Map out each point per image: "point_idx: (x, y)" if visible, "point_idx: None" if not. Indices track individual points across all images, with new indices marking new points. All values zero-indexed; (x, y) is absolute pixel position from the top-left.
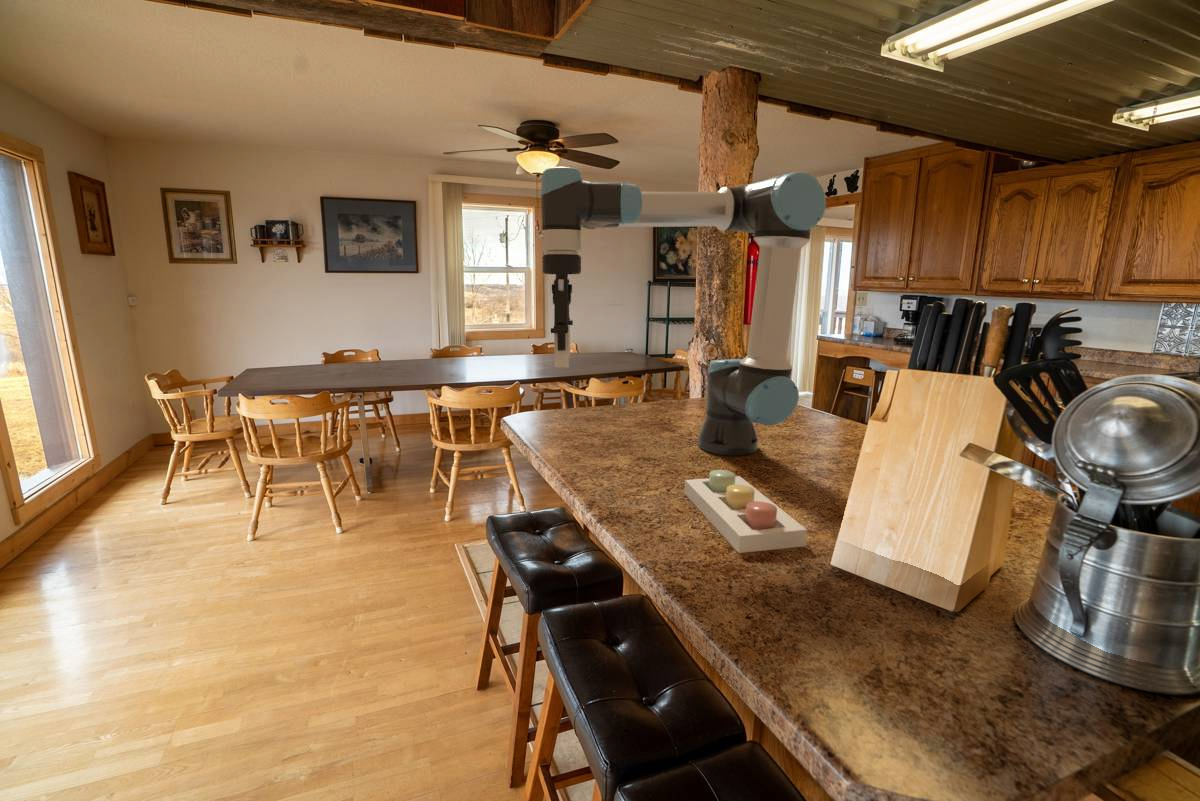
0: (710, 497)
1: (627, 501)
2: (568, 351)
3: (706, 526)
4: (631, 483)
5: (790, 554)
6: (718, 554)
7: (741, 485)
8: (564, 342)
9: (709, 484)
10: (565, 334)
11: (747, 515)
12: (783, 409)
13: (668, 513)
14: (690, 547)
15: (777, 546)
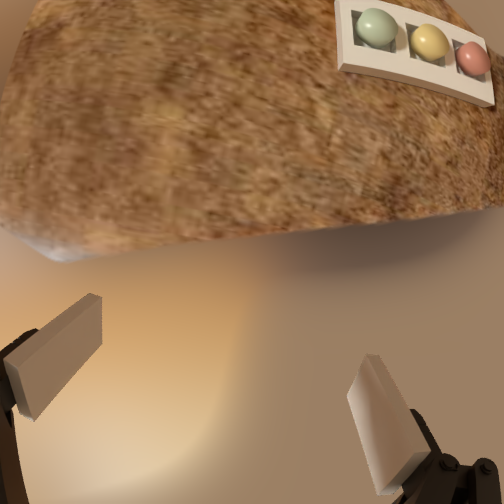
0: (410, 66)
1: (348, 161)
2: (400, 393)
3: (434, 99)
4: (278, 130)
5: None
6: (483, 127)
7: (421, 28)
8: (430, 434)
9: (374, 44)
10: (419, 457)
11: (476, 73)
12: None
13: (397, 123)
14: (470, 145)
15: None
